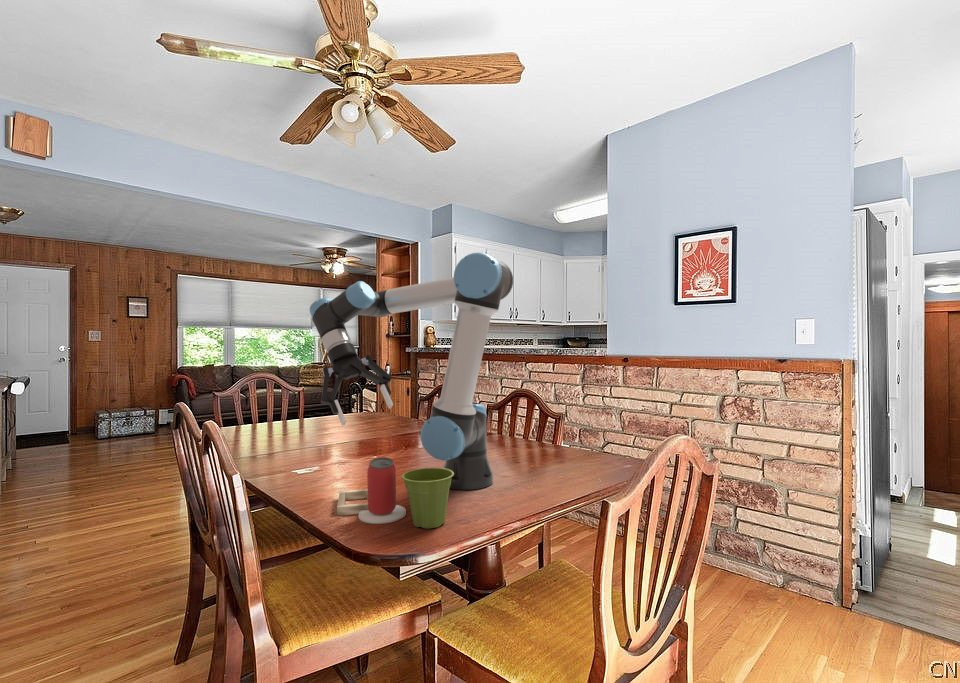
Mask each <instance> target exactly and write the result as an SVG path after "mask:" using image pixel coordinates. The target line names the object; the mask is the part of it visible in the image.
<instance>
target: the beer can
mask: <svg viewBox="0 0 960 683" xmlns="http://www.w3.org/2000/svg"><path fill="white" fill-rule="evenodd" d="M366 474H367V476H366V478H367V479H366V480H367V482H366V483H367V489H368V498H367V503H368V510H369V511H370V512H371V513H372V514H375V515H386V514H389V513H391V512H392V511H393V510H394V509H395V507H396V505H397V495H396V494H397V470H396V466H395V462H394V460H393V459H392V458H390V457H385V456H384V457H383V456H381V457H376V458H373V459H372V460H370V461H369V465H368V468H367V471H366Z"/></svg>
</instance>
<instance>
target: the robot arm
mask: <svg viewBox="0 0 960 683" xmlns="http://www.w3.org/2000/svg"><path fill="white" fill-rule="evenodd" d="M513 286H514V275H513V272H512V271H511V268H510V267H509V266H508V264H506V263H505V262H503V261H502V260H500V259H498V258H497V257H495V256H494V255H491V254H488V253H485V252H472V253H468V254H467V255H465V256H464V257H463V258H461V259H460V260H459V262H458V263H457V264H456V266H455V269H454V272H453V276H452V277H447V278H441V279H437V280H430V281H426V282H421V283H415V284H411V285H405V286H400V287H395V288H390V289H384V290H379V291H374V290H373V288H372V287H371V286H370V285H369V284H367V283H366V282H365V281H362V280H358V281H356V282H355V283H353V284H351V285H349V286H348V287H347V288H346V289H345V290H344V291H342V292H340V293H339V294H338V295H337V296H336V297H334V298H333V299H332V298H331V297H322V298H321V297H320V299H317V300H314V301H313V302H312V303H311V304H310V306H309V313H310V317H311V320H312V323H313V324H314V326H315V329H316V331H317V332H318V335H319V338H320V340H321V342H322V345H323V347H324V350H325V352H326V353H327V354H326V355H327V357H328V360H329V362H330V364H331V367H329V368H328V367H325V366H324V367H323V368H322V373H321V374H322V377H323V382H322V383H323V384H322V390H321V399H320V405H328V406H330V409H331V412H332V414H333V415H337V416H338V419H339V421H340V424H341V426H342V427H343V426H345V425H346V423H347V419H346V417H345V415H344V413H343V410H342V408H341V405H340V403H339V401H338V399H335V398H336V395H337V393H338V391H339V389H340V386H341V384H342V381H343V380H347V381H348V380H350V379H351V378H353V379H354V378H357V376H359V377H363V378H365V379H367V380H369V381H371V382H373V383H374V384H376V385H378V386H380V387H379V390H380V392H381V394H382V397H383V399H384V401H385V404H386V406H387V408H388V410H390V409H392V408H393V407H394V402H393V400H392V399H391V395H392V391H391V387H390V386H389V384H390V382H392V378H393V377H392V375H390V374H389V373H388V372H387V371H385V369H384V368H382V367H381V366H380V365H378V364H377V363H376V362H375V361H374V360H373V358H372V357H371V355H369V354H366V356H365V357H363V358H360V357H359V355H358V353H357V351H356V349H355V347H354V344H353V342H352V339H351V337H350V335H349V333H348V330H347V328H346V325H345V324H347V323H348V322H349V321H351V320H353V319H354V318H355V317H356V316H366V317H375V318H385V317H388V316H390V315H392V314H393V315H394V314H396V313H397V314H398V313H404V312H411V311H417V310H423V309H429V308H434V307H440V306H441V307H442V306H445V305H451V304H455V305H456V307H457V308H458V312H457V317H456V320H455V326H454V331H453V334H452V341H451V345H450V350H449V354H448V358H447V364H446V370H445V373H444V379H443V383H442V388H441V393H440V397H439V398H438V399H436V400H434V401H433V403H432V408H431V412H430V415H429V416H430V417H429V418H428V419H427V420H426V421H425V422H424V424H423V425H422V427H421V429H420V442H421V445H422V448H424V450H425V452H426V453H427V454H428V455H429V456H430V457H432V458H433V459H436V460H439V461H444V465H443V468H445V469H449V470H452V471H453V472H454V475H453V477H452V479H451V485H450V487H449V489H452V490H461V491H462V490H463V491H464V490H465V491H467V490H478V489H484V488H487V487H489V486H491V485H492V484H493V482H494V474H493V471H492V470H493V469H492V467H491V465H490V461H489V459H488V454H487V446H488V445H487V418H488V415H487V408H486V406H485V404H481V403H473V402H474V397H475V392H476V387H477V383H478V379H479V378H478V377H479V373H480V368H481V365H482V361H483V355H484V351H485V350H484V349H485V346H486V342H487V337H488V332H489V326H490V322H491V318H492V316H493V315H494V314H495V313H497V312H499V309H500V304H501V300H503V299H504V298H507V297H508V295H509V294H510V293H511V291H512V288H513ZM362 364H363V365H365V366H367V367H368V368H369V369H370V370H371V371H370V370H368V369H367V368H366V367H363V366H362ZM332 373H333V374H334V375H336V376H337V379H336V381H335V383H334V386H333V388H332V390H331V393H330V396H329V397H328V391H329V390H328V389H329V381H330V377H331V375H332Z"/></svg>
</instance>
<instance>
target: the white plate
mask: <svg viewBox="0 0 960 683" xmlns="http://www.w3.org/2000/svg"><path fill="white" fill-rule="evenodd" d="M406 511H407V510H406V508H405V507H404V506H402V505H399V504H396V507H395V509H394V510H393V511H392V512H391V513H389V514H386V515H375V514H372V513H371V512H370V511H369V510H361V511H360V512H359V514H358V520H360V522H362V523H365V524H371V525H372V524H373V525H382V524H389V523H394V522H397V521H399V520H402V519H403V518H405V516H406V515H407V512H406Z"/></svg>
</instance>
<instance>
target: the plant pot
mask: <svg viewBox="0 0 960 683" xmlns="http://www.w3.org/2000/svg"><path fill="white" fill-rule="evenodd" d="M453 475H454V472H453V471H452V470H449V469H445V468H444V467H422V468H416V469H411V470H408V471H406V472H404V473H402V475H401V479H402V480H403V481H404V487H405V489H406V492H407V497H408V501H409V507H410V514H411V517H412V523H413V525H414V527H417V528H419V527H421V528H423V529H425V530H426V529H435V528H438V527H441V526H442V525H443V524H445V523H446V518H447V517H446V516H447V509H448V501H449V495H450V488H449V487H450V485H451V479H452V477H453Z"/></svg>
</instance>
